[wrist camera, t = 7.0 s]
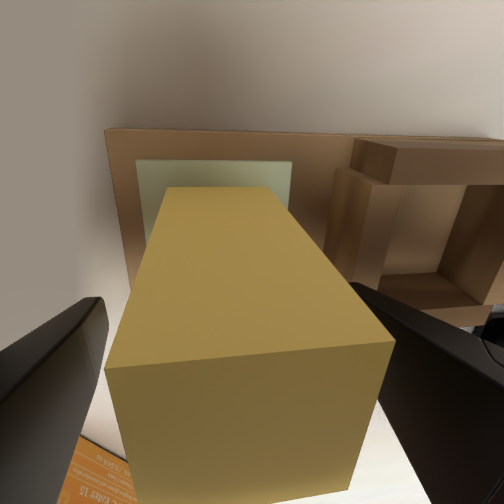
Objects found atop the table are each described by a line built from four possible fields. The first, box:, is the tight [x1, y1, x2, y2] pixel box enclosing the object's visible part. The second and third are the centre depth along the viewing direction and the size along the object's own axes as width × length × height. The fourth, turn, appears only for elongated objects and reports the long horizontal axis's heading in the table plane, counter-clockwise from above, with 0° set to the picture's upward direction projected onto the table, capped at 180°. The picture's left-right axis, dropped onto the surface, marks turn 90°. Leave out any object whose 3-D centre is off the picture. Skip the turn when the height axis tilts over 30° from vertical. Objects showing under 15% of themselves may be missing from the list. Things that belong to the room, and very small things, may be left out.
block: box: [104, 186, 396, 504], centre depth 9 cm, size 4×4×9 cm
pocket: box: [323, 138, 504, 328], centre depth 13 cm, size 8×8×3 cm
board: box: [104, 128, 504, 290], centre depth 14 cm, size 8×17×1 cm, turn 88°
